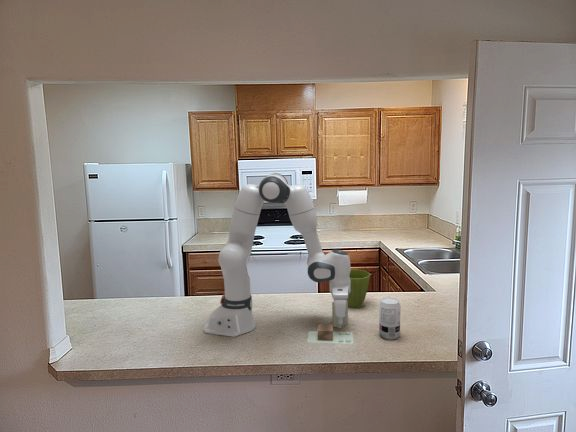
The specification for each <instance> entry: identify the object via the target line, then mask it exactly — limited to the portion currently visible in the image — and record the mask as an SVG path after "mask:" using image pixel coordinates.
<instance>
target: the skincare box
mask: <svg viewBox="0 0 576 432" xmlns="http://www.w3.org/2000/svg"><path fill="white" fill-rule="evenodd" d="M331 303H332V304H331V306H332V310H331V311H332V313H331V315H332V318H331V319H332V324H331V325H333V327H335V328H338V329H341V328H343V327H345V326H347V325H348V324H349V306H348V300H347V303H346V312H345V317H343V323H342V324H339V323H338V317H336V314H335V306H334V301H332V302H331Z"/></svg>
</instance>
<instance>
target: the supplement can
mask: <svg viewBox="0 0 576 432" xmlns="http://www.w3.org/2000/svg"><path fill="white" fill-rule="evenodd" d="M378 321H379V324H378V327H379V329H378V330H379V331H378V333H379V336H380V337H381V338H383V339H386V340H390V339H391V340H396V339H398V338H399V337H400V335H401V303H400V301H399V299H397V298H393V297H383V298H381V299H380V302H379V320H378Z"/></svg>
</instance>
